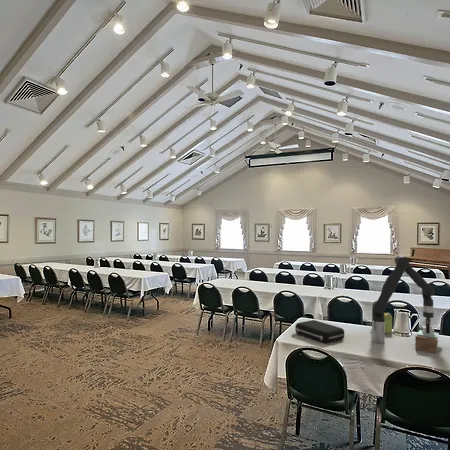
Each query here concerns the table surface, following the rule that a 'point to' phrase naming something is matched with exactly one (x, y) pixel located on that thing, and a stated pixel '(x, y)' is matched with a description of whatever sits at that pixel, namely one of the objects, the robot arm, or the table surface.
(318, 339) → the briefcase
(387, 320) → the protein box
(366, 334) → the table surface
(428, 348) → the walnut box
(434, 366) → the table surface
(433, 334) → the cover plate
